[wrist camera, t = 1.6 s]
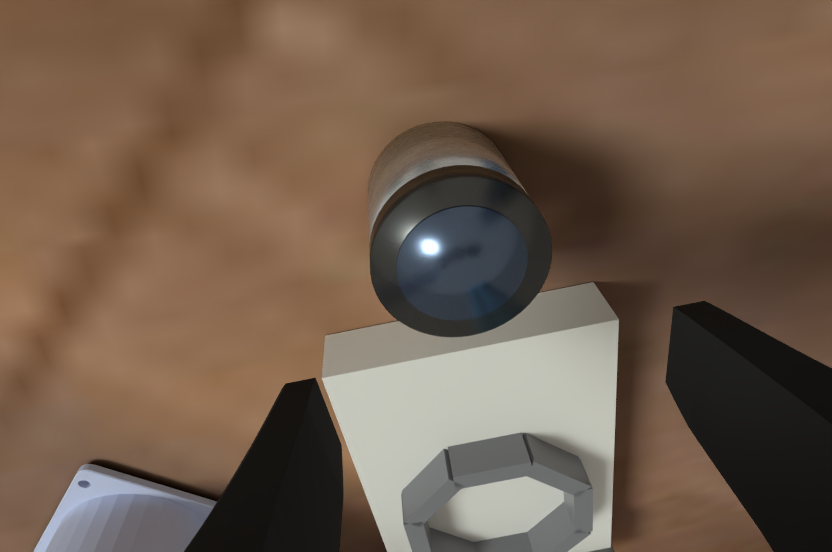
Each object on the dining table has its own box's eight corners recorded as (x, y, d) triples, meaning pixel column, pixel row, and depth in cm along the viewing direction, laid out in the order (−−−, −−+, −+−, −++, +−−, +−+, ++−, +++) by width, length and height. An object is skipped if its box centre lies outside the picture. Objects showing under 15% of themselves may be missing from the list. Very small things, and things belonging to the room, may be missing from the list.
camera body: (594, 534, 31) (622, 606, 28) (405, 570, 31) (411, 646, 28) (595, 281, 21) (640, 345, 18) (322, 335, 22) (316, 409, 18)
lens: (452, 275, 21) (477, 363, 16) (340, 212, 19) (335, 292, 15) (537, 171, 19) (590, 241, 14) (421, 90, 17) (442, 142, 13)
